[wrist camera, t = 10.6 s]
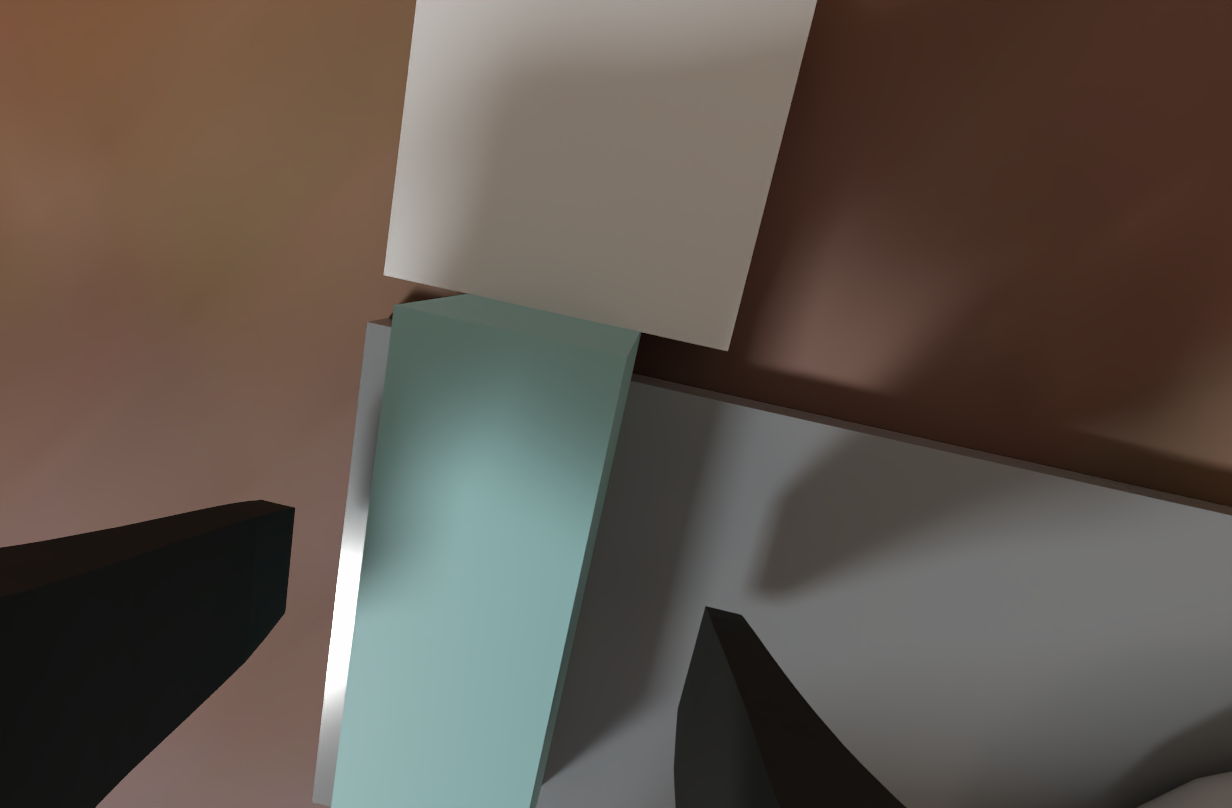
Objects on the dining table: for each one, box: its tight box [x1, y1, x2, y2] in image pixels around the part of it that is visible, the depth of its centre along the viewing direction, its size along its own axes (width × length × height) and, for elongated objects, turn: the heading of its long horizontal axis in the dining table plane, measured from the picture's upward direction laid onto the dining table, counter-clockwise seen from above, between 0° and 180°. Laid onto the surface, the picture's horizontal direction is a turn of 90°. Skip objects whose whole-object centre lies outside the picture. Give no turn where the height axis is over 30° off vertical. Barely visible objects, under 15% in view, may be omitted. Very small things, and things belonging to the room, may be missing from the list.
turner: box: [331, 0, 817, 808], centre depth 10 cm, size 16×6×4 cm, turn 168°
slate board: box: [312, 318, 1232, 808], centre depth 13 cm, size 11×22×1 cm, turn 78°
